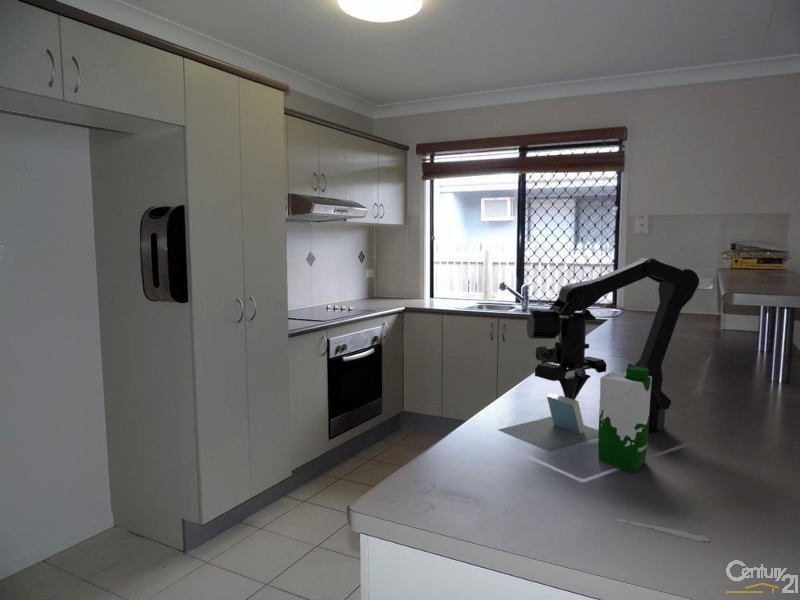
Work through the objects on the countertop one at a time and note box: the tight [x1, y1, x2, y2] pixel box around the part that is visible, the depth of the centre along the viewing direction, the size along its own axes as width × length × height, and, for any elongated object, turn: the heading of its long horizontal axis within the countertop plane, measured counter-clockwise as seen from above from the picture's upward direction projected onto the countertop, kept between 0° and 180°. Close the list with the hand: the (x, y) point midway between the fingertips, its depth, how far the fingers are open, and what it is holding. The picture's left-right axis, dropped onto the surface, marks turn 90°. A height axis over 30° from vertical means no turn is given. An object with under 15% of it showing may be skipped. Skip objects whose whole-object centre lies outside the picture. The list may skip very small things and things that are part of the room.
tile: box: [546, 392, 585, 434], centre depth 129 cm, size 8×2×8 cm, turn 33°
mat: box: [497, 416, 599, 453], centre depth 128 cm, size 16×20×1 cm
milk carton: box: [597, 365, 652, 473], centre depth 111 cm, size 9×9×20 cm
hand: (569, 403), depth 130 cm, fingers closed
